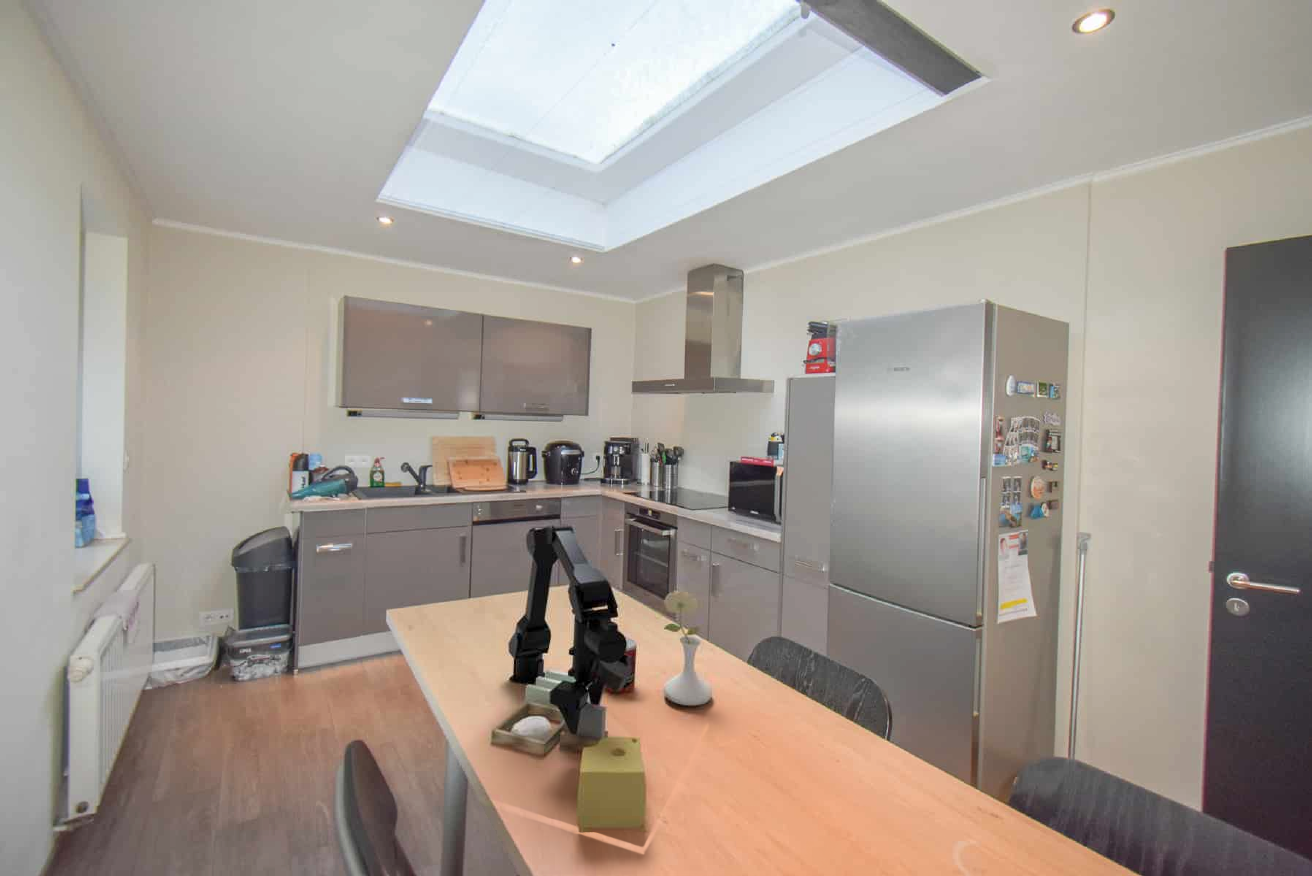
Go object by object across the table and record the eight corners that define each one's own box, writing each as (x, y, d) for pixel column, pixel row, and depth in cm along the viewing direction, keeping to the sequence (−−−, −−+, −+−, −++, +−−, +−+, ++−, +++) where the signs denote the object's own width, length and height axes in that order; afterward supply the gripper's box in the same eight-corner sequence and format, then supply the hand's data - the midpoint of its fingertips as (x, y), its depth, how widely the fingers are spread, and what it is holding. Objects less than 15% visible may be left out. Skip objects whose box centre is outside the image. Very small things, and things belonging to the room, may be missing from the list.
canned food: (630, 697, 132) (632, 650, 132) (597, 692, 134) (599, 646, 133) (637, 682, 140) (639, 638, 139) (606, 678, 141) (608, 634, 141)
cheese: (579, 791, 98) (581, 734, 98) (641, 791, 99) (643, 734, 99) (575, 835, 88) (578, 772, 88) (645, 834, 89) (647, 772, 89)
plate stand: (557, 752, 109) (558, 735, 109) (572, 736, 115) (573, 720, 115) (595, 762, 107) (596, 745, 107) (608, 745, 112) (609, 729, 112)
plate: (563, 742, 111) (565, 701, 111) (567, 737, 113) (569, 698, 113) (600, 751, 109) (602, 710, 108) (604, 747, 110) (606, 706, 110)
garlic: (515, 753, 109) (515, 733, 109) (506, 735, 115) (507, 716, 115) (555, 743, 113) (556, 724, 113) (544, 726, 119) (545, 708, 118)
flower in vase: (718, 694, 136) (724, 590, 135) (701, 716, 125) (707, 603, 124) (668, 681, 141) (673, 581, 140) (648, 701, 131) (653, 593, 130)
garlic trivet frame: (491, 745, 110) (491, 730, 110) (526, 714, 122) (527, 700, 122) (543, 760, 107) (544, 744, 106) (575, 726, 118) (575, 712, 118)
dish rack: (521, 709, 124) (522, 687, 124) (547, 687, 135) (548, 667, 134) (578, 724, 120) (579, 700, 119) (600, 700, 130) (601, 678, 130)
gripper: (605, 670, 99) (601, 758, 99) (644, 633, 116) (640, 708, 117) (549, 657, 102) (545, 742, 103) (594, 624, 120) (591, 696, 121)
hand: (584, 721), depth 111 cm, fingers open, 9 cm apart
